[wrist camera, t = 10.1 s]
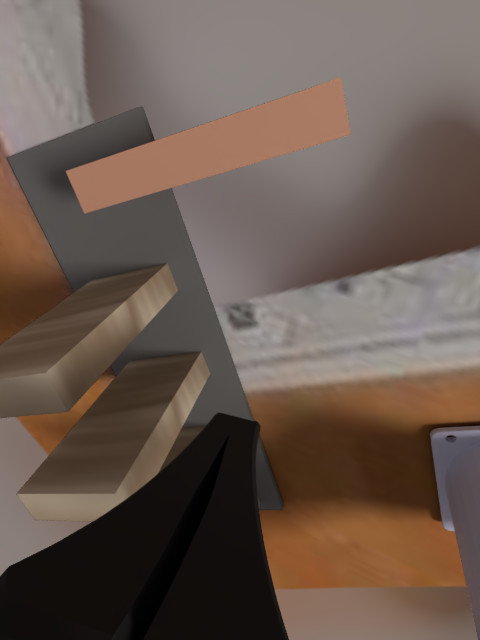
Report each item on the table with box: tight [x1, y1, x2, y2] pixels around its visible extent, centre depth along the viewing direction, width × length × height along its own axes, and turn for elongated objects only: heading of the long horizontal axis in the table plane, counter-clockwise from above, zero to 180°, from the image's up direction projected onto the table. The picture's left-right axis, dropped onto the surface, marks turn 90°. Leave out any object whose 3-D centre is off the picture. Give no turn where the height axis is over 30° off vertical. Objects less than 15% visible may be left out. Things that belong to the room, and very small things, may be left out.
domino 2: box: [0, 263, 178, 418], centre depth 19 cm, size 2×5×10 cm, turn 107°
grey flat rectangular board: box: [7, 107, 284, 510], centre depth 25 cm, size 8×26×1 cm, turn 17°
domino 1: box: [66, 78, 351, 214], centre depth 16 cm, size 2×5×10 cm
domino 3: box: [17, 351, 210, 522], centre depth 21 cm, size 2×5×10 cm, turn 107°
